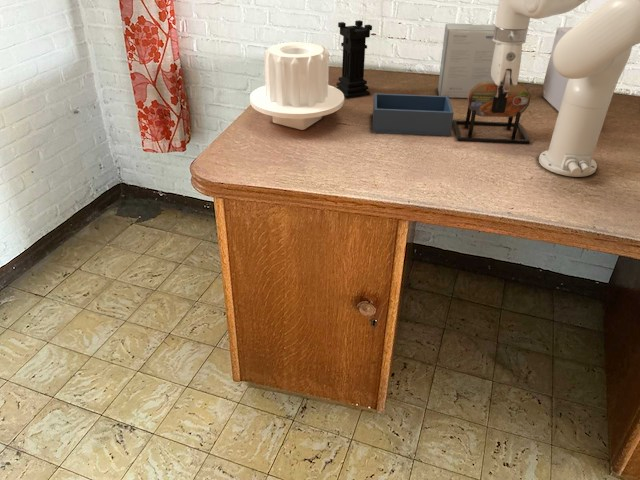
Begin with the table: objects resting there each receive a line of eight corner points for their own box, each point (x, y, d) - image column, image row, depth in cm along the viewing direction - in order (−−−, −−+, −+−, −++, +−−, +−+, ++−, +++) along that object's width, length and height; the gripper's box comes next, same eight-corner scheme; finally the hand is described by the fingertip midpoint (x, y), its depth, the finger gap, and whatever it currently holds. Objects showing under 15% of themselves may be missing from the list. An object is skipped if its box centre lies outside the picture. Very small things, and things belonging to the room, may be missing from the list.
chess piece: (334, 90, 168) (336, 22, 157) (357, 86, 171) (360, 19, 160) (346, 98, 162) (349, 28, 151) (369, 94, 165) (374, 26, 154)
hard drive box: (487, 91, 169) (499, 24, 157) (490, 99, 162) (504, 30, 151) (436, 89, 170) (445, 22, 158) (438, 97, 164) (448, 28, 152)
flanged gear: (359, 114, 152) (363, 45, 141) (312, 147, 134) (313, 70, 123) (284, 98, 162) (282, 32, 151) (232, 126, 144) (226, 53, 133)
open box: (450, 136, 140) (453, 112, 137) (372, 132, 142) (373, 109, 138) (445, 118, 150) (448, 96, 147) (372, 115, 151) (374, 93, 148)
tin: (466, 116, 138) (471, 83, 133) (464, 111, 141) (469, 79, 136) (526, 118, 137) (534, 85, 132) (523, 113, 140) (531, 81, 135)
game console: (577, 130, 144) (599, 54, 133) (539, 95, 166) (556, 27, 155) (598, 130, 144) (623, 54, 133) (558, 94, 167) (576, 27, 155)
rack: (529, 144, 137) (535, 117, 133) (457, 140, 138) (462, 114, 134) (519, 125, 146) (524, 100, 142) (452, 122, 148) (456, 97, 144)
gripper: (534, 43, 121) (518, 122, 131) (518, 27, 134) (505, 99, 144) (500, 42, 121) (486, 121, 131) (487, 26, 135) (476, 99, 145)
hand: (496, 109), depth 138 cm, fingers closed on tin, 2 cm apart
